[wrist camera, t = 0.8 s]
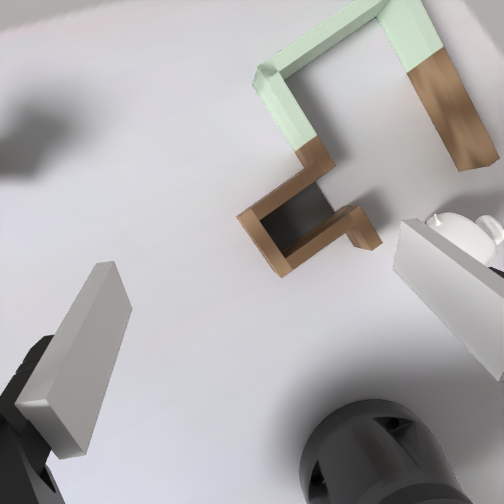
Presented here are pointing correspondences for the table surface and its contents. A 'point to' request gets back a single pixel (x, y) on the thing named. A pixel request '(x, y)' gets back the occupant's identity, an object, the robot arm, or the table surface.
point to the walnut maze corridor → (319, 163)
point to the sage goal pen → (329, 34)
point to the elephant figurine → (470, 234)
